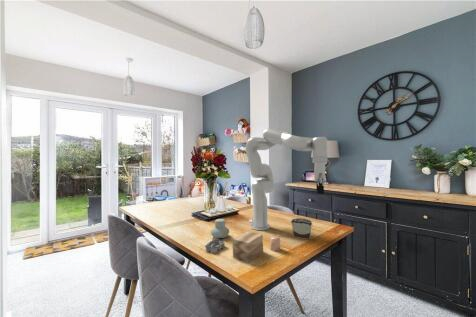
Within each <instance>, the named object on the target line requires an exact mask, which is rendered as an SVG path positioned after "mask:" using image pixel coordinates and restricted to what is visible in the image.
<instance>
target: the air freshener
mask: <svg viewBox="0 0 476 317" xmlns="http://www.w3.org/2000/svg"><path fill="white" fill-rule="evenodd" d="M229 234H230V228H229V227H227V226H226V220H225V219H224V218H218V219H215V220H214V227H212V228H211V230H210V235H211V236H212V237H213V238H215V237H216V238H217V239H225V238H227V237H228V235H229Z"/></svg>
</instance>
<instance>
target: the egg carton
mask: <svg viewBox="0 0 476 317" xmlns="http://www.w3.org/2000/svg"><path fill="white" fill-rule="evenodd" d="M225 243H226V241H225V240H221V241H220V238H216V237H213V238H212V239H211V241H209V242H208V243H206V244H205V245H204V247H205V252H210V253H212V254H214V253H217V252H218V251H221V249H222V248H225V245H226V244H225Z"/></svg>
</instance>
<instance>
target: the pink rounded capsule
mask: <svg viewBox="0 0 476 317" xmlns="http://www.w3.org/2000/svg"><path fill="white" fill-rule="evenodd" d="M269 244H270V245H269V247H270V251H273V252H279V251H281V237H280V236H278V235H271V236H270V243H269Z"/></svg>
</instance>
